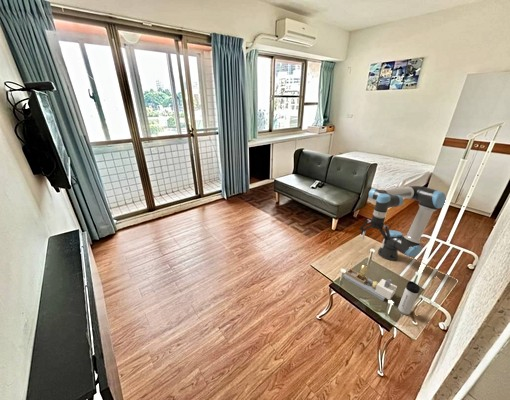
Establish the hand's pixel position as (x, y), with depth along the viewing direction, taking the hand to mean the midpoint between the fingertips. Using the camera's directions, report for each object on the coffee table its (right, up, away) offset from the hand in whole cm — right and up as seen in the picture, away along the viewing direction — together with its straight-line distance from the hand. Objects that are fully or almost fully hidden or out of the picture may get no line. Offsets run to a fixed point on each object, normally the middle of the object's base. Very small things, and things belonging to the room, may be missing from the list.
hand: (372, 243), depth 155 cm
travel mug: (+8, -37, -22) cm, 44 cm away
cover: (+2, -31, -11) cm, 33 cm away
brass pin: (-8, -26, 0) cm, 27 cm away
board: (-6, -29, -2) cm, 30 cm away
